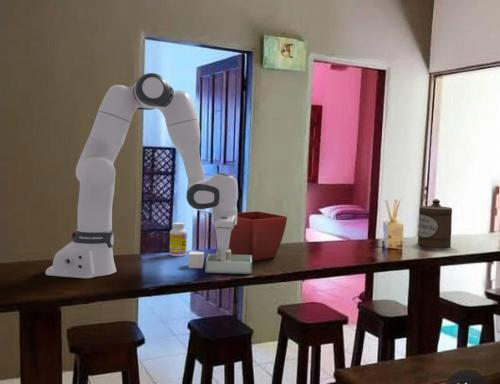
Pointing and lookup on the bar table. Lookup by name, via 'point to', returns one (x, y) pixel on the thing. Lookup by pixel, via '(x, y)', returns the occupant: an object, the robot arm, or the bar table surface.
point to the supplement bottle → (178, 240)
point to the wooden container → (435, 225)
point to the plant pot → (257, 234)
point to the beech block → (228, 255)
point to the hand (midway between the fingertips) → (223, 257)
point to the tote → (229, 264)
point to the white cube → (196, 259)
